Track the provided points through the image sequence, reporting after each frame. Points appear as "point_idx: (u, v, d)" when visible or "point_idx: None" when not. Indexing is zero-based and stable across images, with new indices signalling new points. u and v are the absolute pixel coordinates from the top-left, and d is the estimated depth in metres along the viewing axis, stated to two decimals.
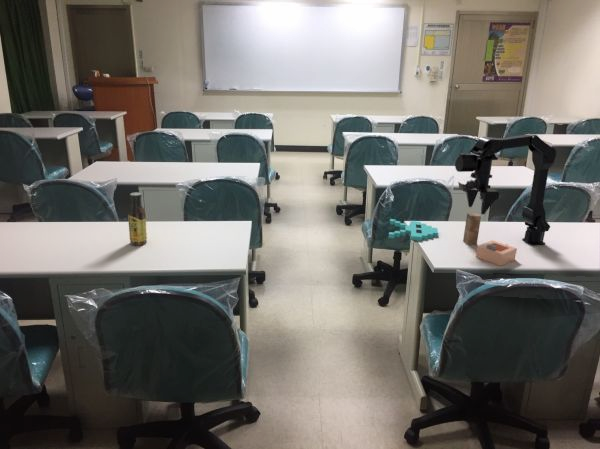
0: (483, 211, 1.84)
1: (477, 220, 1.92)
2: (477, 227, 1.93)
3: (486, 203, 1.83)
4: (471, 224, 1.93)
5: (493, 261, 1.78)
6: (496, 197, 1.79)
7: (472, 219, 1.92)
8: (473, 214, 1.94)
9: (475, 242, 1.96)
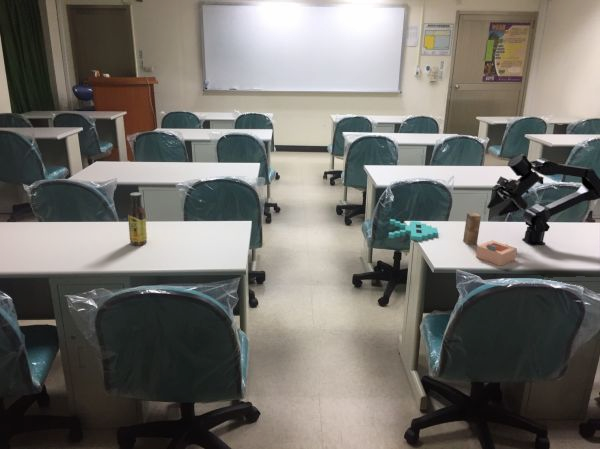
0: (502, 212, 1.89)
1: (477, 220, 1.92)
2: (477, 227, 1.93)
3: (509, 207, 1.88)
4: (471, 224, 1.93)
5: (493, 261, 1.78)
6: (523, 206, 1.84)
7: (472, 219, 1.92)
8: (472, 214, 1.94)
9: (475, 242, 1.96)
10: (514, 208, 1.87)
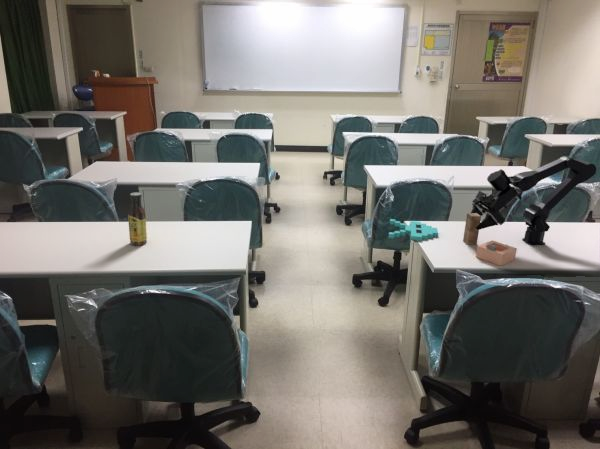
0: (479, 226, 1.90)
1: (477, 220, 1.92)
2: None
3: (487, 222, 1.89)
4: (471, 224, 1.93)
5: (493, 261, 1.78)
6: (500, 221, 1.85)
7: (472, 219, 1.92)
8: (472, 214, 1.94)
9: (475, 242, 1.96)
10: (492, 223, 1.89)
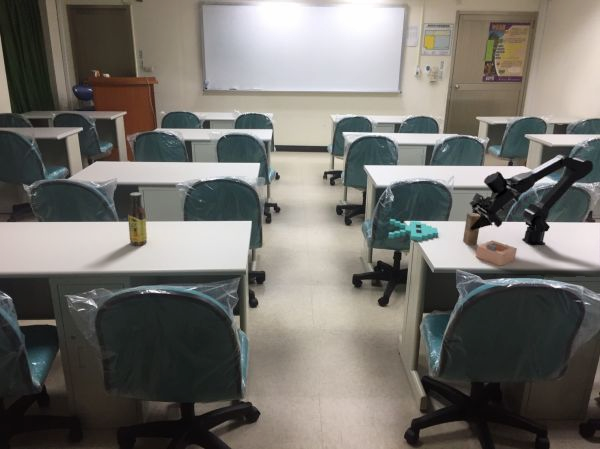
0: (474, 227, 1.92)
1: None
2: None
3: (481, 222, 1.91)
4: (471, 224, 1.93)
5: (493, 261, 1.78)
6: (497, 224, 1.86)
7: (472, 219, 1.92)
8: (473, 214, 1.94)
9: (475, 242, 1.96)
10: (486, 223, 1.91)
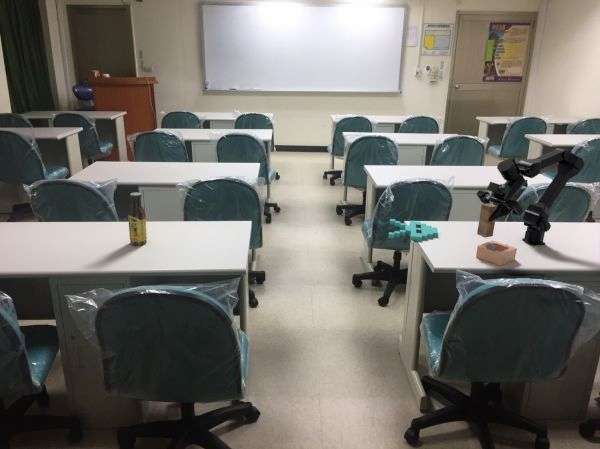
0: (492, 218, 1.81)
1: (494, 210, 1.81)
2: None
3: (499, 212, 1.81)
4: (489, 215, 1.81)
5: (493, 261, 1.78)
6: (519, 212, 1.77)
7: (490, 210, 1.80)
8: (488, 205, 1.82)
9: (491, 234, 1.85)
10: (504, 212, 1.81)
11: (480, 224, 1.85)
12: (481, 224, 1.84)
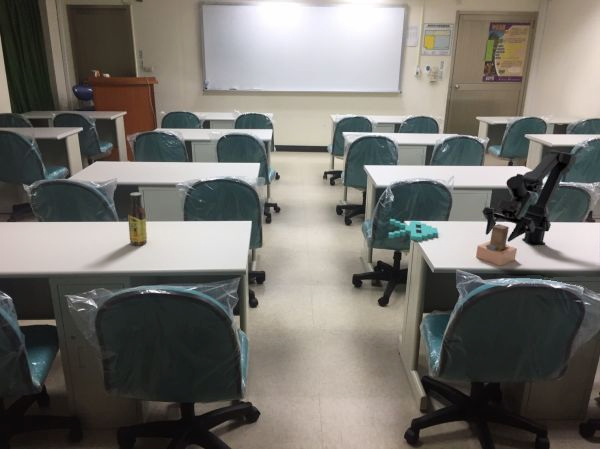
0: (511, 238, 1.76)
1: (506, 232, 1.78)
2: (505, 239, 1.79)
3: (517, 231, 1.76)
4: (502, 237, 1.77)
5: (493, 261, 1.78)
6: (532, 229, 1.75)
7: (503, 232, 1.77)
8: (499, 226, 1.79)
9: None
10: (521, 231, 1.77)
11: None
12: None
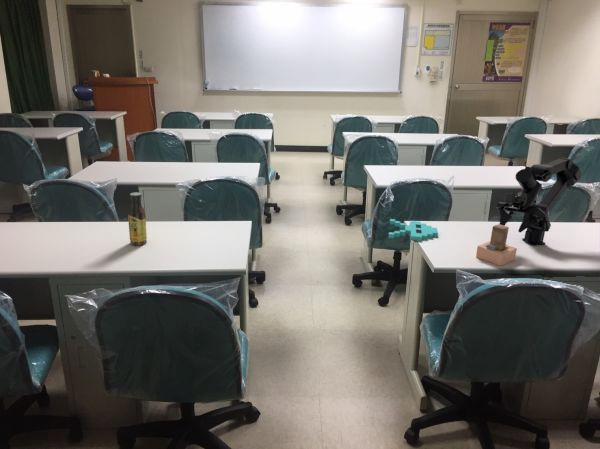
0: (522, 228, 1.80)
1: (506, 232, 1.78)
2: (505, 239, 1.79)
3: (527, 221, 1.80)
4: (502, 237, 1.77)
5: (493, 261, 1.78)
6: (542, 216, 1.78)
7: (503, 232, 1.77)
8: (499, 226, 1.79)
9: None
10: (532, 221, 1.80)
11: None
12: None
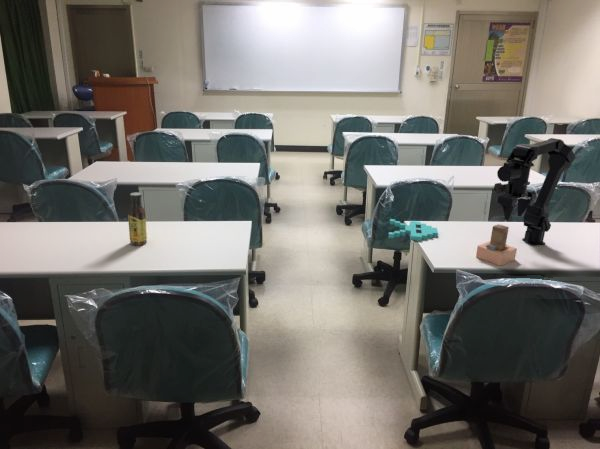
0: (505, 216, 1.84)
1: (506, 232, 1.78)
2: (505, 239, 1.79)
3: (507, 209, 1.82)
4: (502, 237, 1.77)
5: (493, 261, 1.78)
6: (506, 203, 1.78)
7: (503, 232, 1.77)
8: (499, 226, 1.79)
9: None
10: (510, 207, 1.80)
11: None
12: None
